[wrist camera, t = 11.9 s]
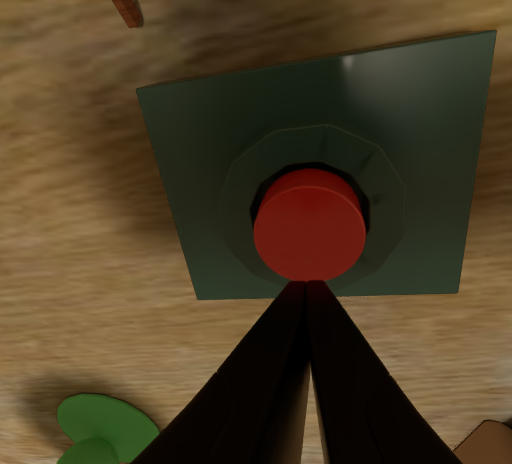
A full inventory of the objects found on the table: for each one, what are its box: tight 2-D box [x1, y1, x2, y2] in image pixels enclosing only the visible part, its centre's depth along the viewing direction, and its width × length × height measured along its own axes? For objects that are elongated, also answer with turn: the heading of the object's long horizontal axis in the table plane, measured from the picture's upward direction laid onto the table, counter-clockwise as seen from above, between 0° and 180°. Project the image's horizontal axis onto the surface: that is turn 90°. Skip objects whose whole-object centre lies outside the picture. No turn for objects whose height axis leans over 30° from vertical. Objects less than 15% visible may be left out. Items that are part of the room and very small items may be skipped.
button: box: [253, 168, 366, 283], centre depth 12 cm, size 4×4×2 cm
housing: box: [136, 30, 497, 300], centre depth 14 cm, size 12×10×4 cm
